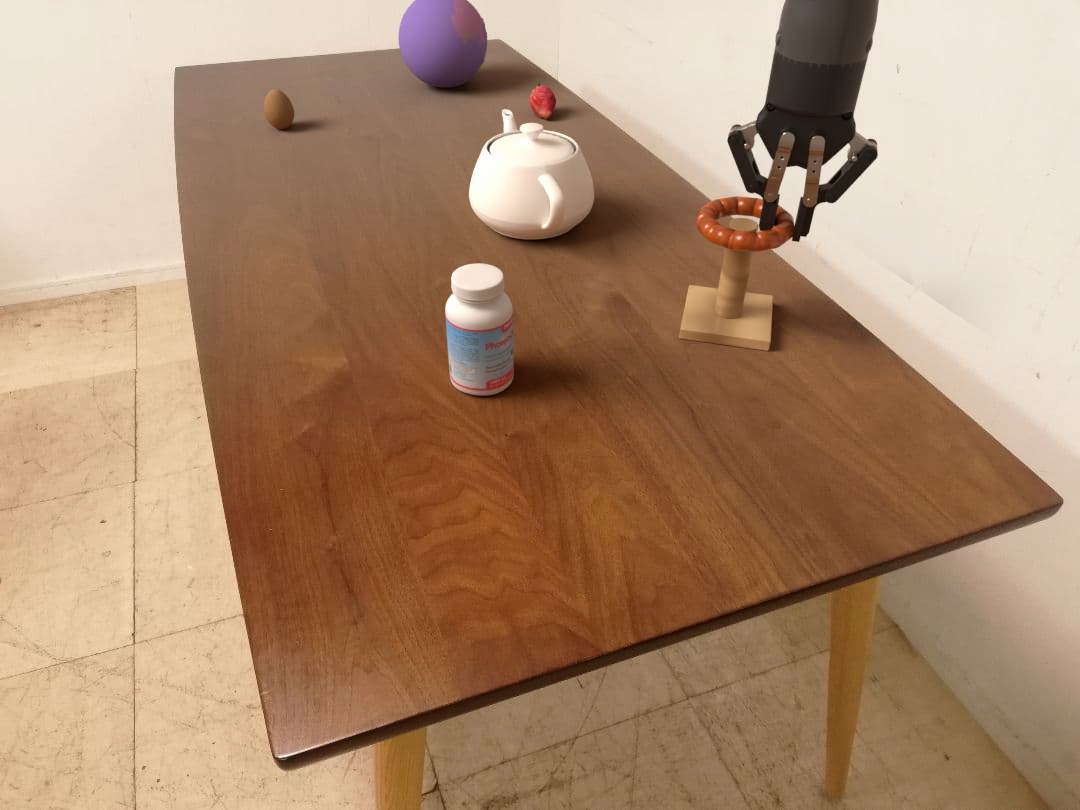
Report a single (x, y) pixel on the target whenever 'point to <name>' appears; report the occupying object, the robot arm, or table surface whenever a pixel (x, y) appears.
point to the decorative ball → (443, 41)
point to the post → (729, 304)
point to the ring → (743, 238)
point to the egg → (278, 109)
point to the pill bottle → (479, 331)
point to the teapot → (531, 182)
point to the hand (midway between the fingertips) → (781, 235)
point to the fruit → (542, 101)
